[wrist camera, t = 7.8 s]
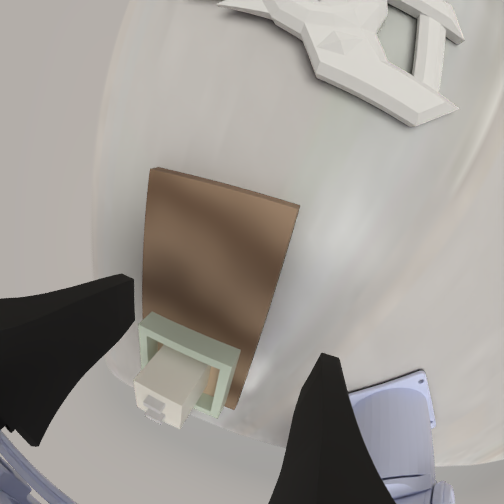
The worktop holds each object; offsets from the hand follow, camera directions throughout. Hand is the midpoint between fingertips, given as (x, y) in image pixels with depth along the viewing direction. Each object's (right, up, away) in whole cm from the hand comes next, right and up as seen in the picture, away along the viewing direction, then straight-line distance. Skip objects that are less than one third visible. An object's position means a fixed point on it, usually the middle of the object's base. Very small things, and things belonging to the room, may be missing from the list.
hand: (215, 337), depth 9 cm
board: (-3, -2, +12) cm, 13 cm away
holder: (-4, -6, +14) cm, 16 cm away
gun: (+6, +18, +2) cm, 19 cm away
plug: (-4, -7, +13) cm, 15 cm away
